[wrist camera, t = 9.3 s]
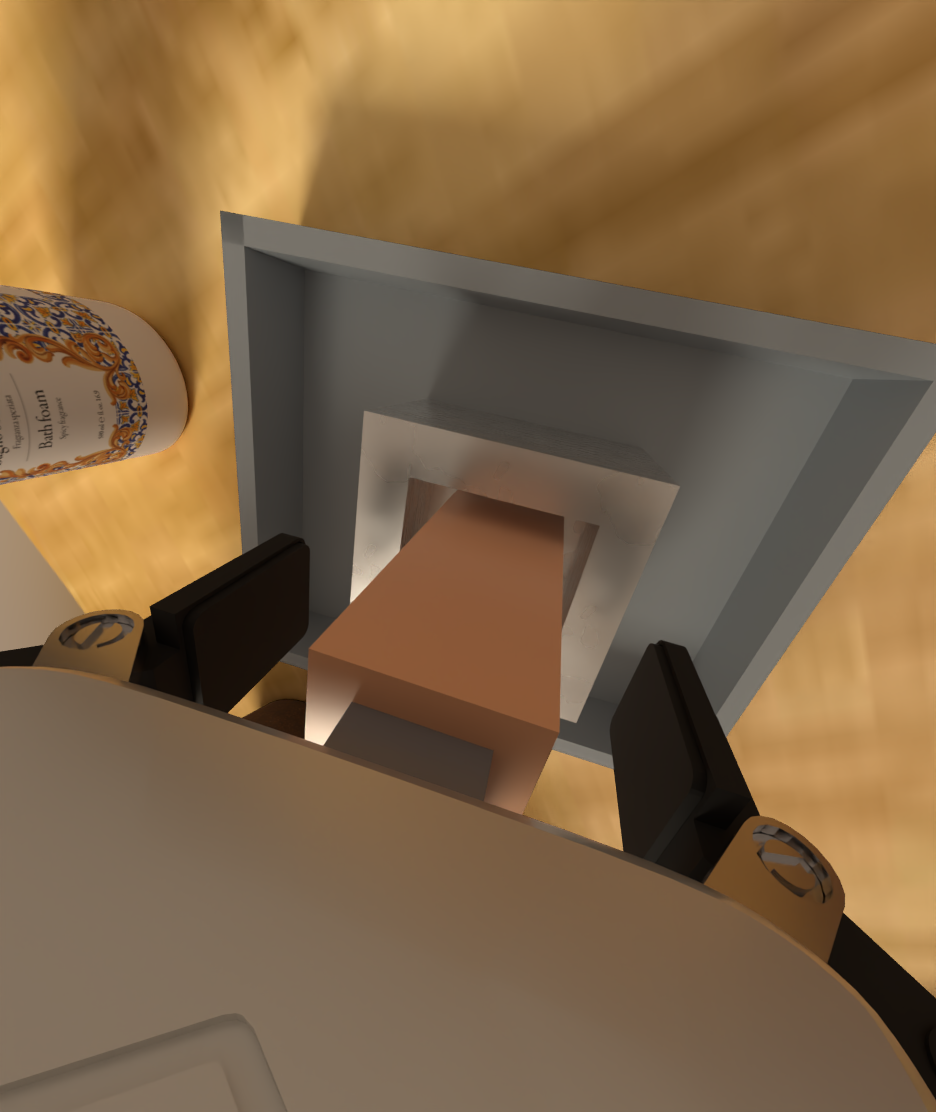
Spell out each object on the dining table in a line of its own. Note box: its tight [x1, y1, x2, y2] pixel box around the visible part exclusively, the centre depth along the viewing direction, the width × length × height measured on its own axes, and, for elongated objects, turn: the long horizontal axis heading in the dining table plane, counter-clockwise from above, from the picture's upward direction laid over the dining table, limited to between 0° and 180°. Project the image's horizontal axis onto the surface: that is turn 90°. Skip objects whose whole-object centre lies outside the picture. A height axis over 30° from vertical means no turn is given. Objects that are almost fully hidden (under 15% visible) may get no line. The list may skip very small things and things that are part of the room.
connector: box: [305, 489, 564, 815], centre depth 11 cm, size 4×4×11 cm
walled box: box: [220, 211, 936, 769], centre depth 17 cm, size 22×18×4 cm
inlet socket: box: [350, 399, 680, 723], centre depth 16 cm, size 9×9×6 cm
